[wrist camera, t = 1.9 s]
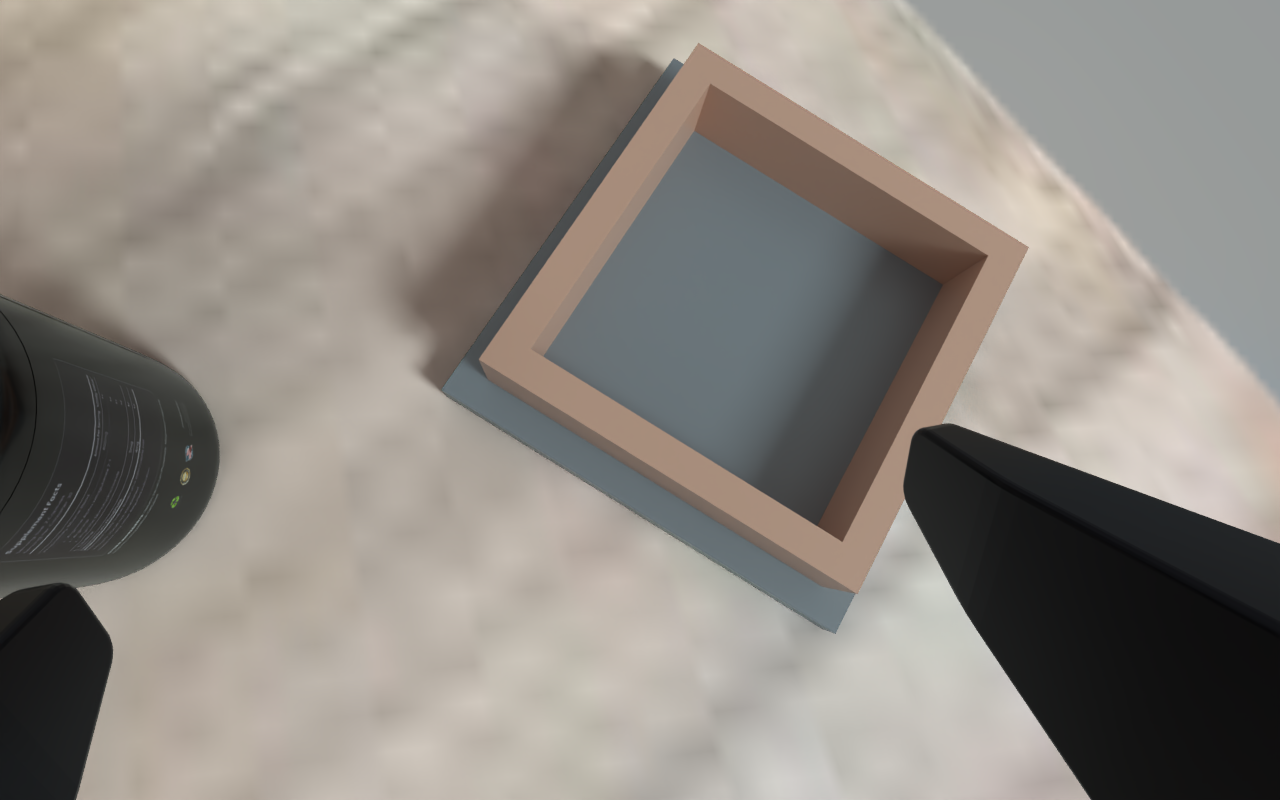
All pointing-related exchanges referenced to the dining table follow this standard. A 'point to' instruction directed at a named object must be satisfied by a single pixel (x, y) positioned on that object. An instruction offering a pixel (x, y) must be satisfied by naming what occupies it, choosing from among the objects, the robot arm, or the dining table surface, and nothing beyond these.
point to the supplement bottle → (93, 454)
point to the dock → (744, 332)
